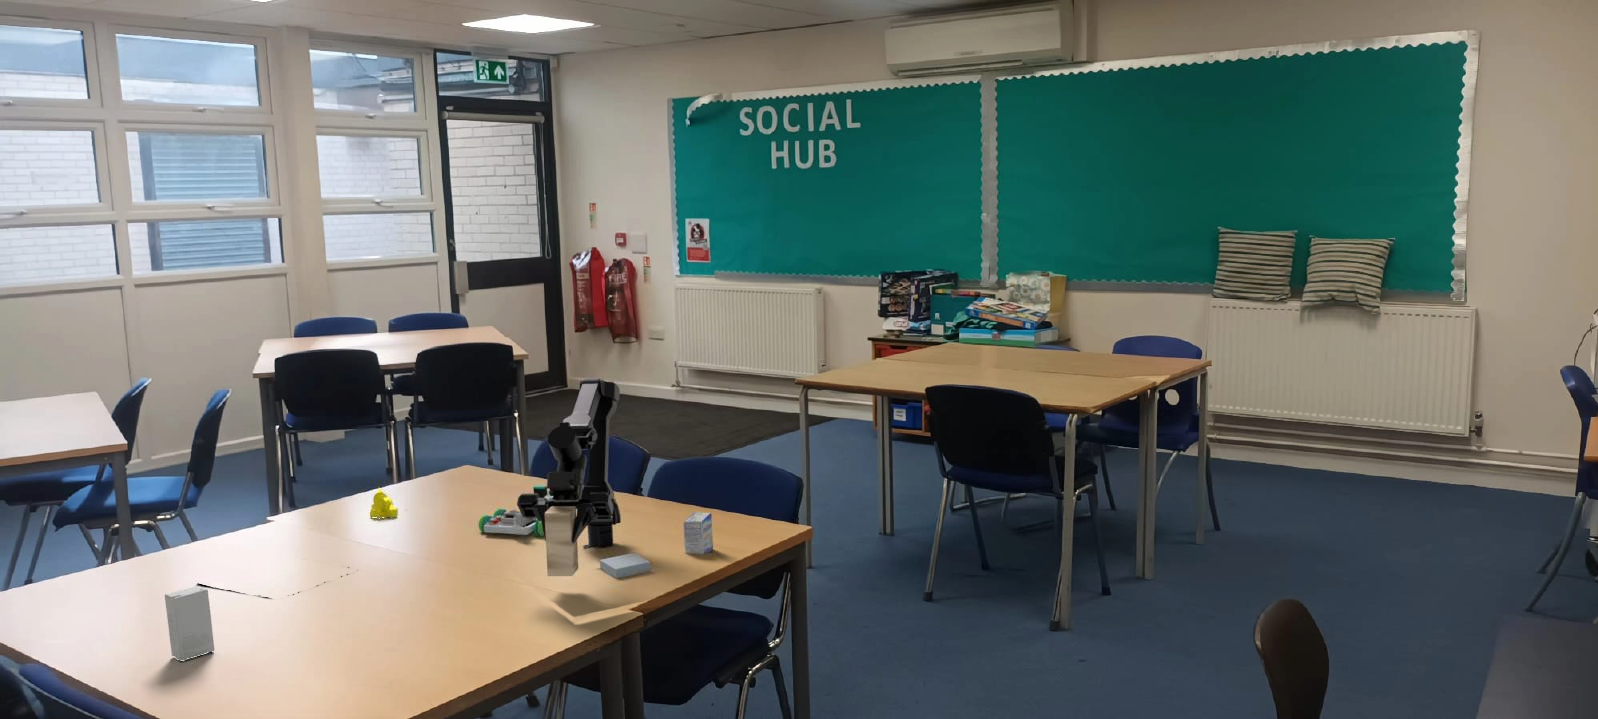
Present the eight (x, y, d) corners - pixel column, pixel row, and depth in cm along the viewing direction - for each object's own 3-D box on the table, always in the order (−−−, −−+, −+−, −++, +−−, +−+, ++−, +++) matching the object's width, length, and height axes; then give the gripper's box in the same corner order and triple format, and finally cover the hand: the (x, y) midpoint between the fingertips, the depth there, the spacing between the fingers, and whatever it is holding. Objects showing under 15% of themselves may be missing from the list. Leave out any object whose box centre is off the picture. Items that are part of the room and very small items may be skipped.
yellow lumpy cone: (385, 520, 296) (383, 491, 295) (364, 517, 300) (362, 488, 299) (403, 515, 301) (401, 486, 300) (382, 511, 305) (380, 483, 304)
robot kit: (588, 514, 297) (586, 479, 295) (537, 542, 273) (534, 504, 272) (525, 510, 302) (523, 476, 301) (470, 537, 279) (467, 500, 278)
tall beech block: (554, 568, 234) (551, 506, 232) (578, 568, 234) (575, 506, 232) (547, 576, 229) (544, 513, 227) (572, 576, 229) (569, 513, 227)
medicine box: (703, 559, 255) (702, 521, 254) (684, 558, 256) (683, 521, 255) (713, 549, 262) (712, 512, 261) (694, 548, 263) (693, 511, 262)
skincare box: (205, 647, 210) (199, 583, 209) (216, 653, 207) (209, 588, 206) (169, 658, 206) (163, 593, 204) (180, 663, 203) (173, 598, 201)
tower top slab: (600, 568, 246) (599, 559, 246) (634, 561, 250) (633, 552, 250) (616, 578, 239) (615, 569, 239) (650, 570, 244) (650, 561, 243)
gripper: (516, 455, 232) (503, 523, 223) (607, 453, 231) (598, 521, 222) (529, 483, 241) (517, 549, 232) (617, 482, 240) (608, 548, 231)
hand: (559, 541), depth 229 cm, fingers closed on tall beech block, 5 cm apart
